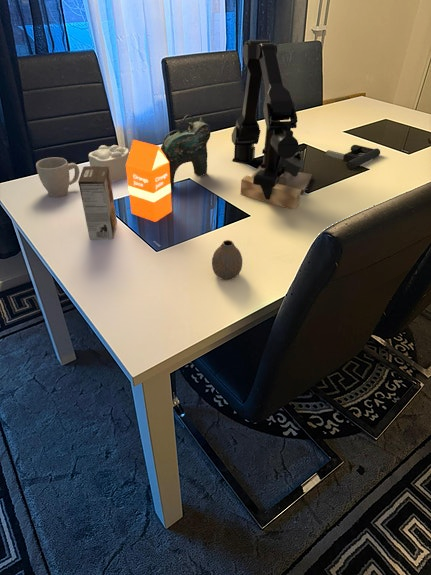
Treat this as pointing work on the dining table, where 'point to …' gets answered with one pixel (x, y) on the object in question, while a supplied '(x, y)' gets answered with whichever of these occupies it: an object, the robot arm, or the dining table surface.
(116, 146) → the lumpy-topped squat cylinder
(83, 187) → the coffee box
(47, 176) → the mug
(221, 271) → the vase
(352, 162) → the door handle
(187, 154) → the dark green animal statue
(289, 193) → the oak beam
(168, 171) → the orange juice
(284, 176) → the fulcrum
